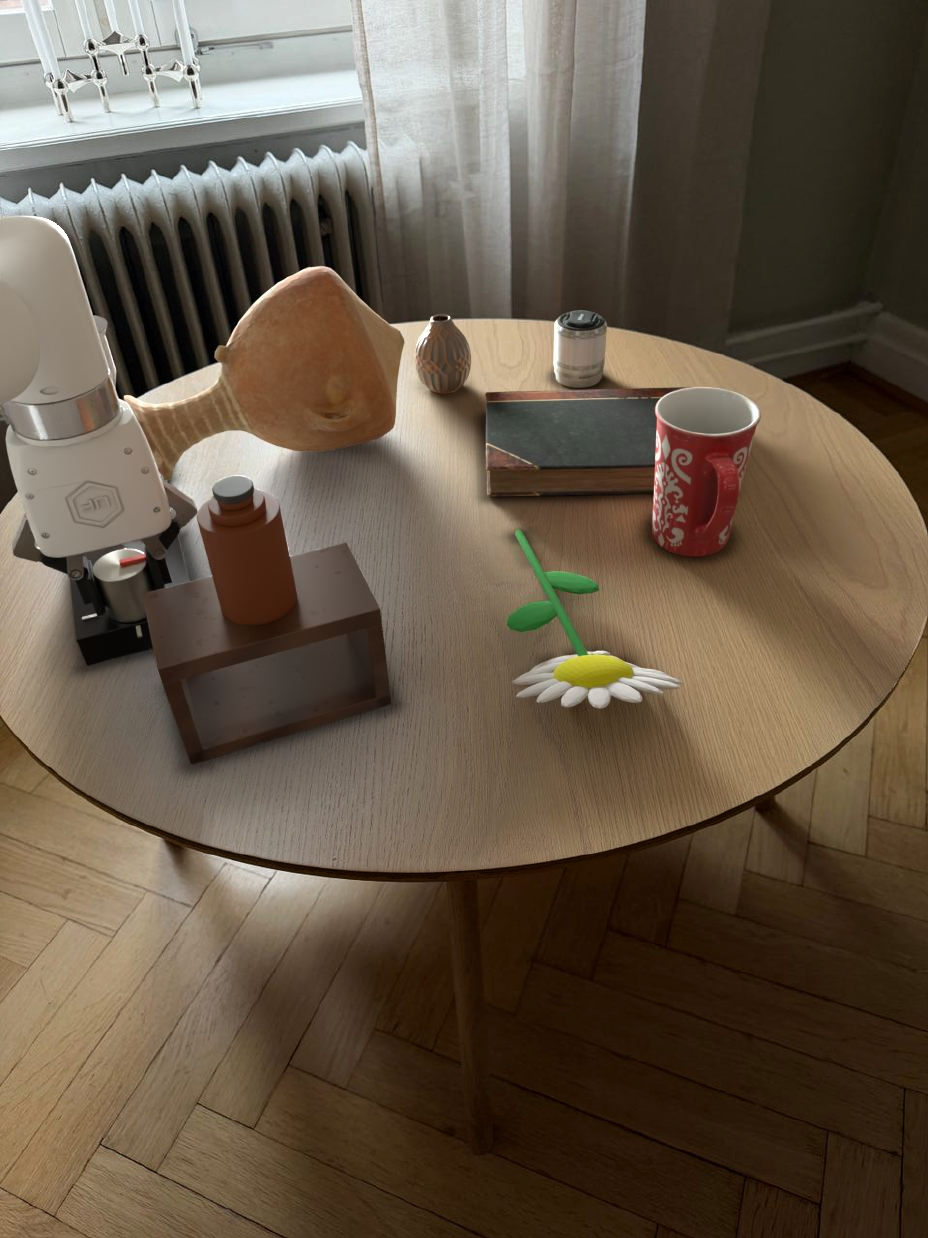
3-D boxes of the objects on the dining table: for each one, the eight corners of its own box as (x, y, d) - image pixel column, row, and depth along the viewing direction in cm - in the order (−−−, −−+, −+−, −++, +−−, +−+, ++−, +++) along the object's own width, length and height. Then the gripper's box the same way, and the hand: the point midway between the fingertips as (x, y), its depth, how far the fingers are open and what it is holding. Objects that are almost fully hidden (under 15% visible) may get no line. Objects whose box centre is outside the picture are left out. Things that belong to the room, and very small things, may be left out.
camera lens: (606, 368, 117) (610, 307, 112) (599, 391, 112) (604, 329, 107) (557, 364, 118) (559, 304, 113) (548, 387, 113) (550, 325, 108)
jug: (445, 376, 90) (145, 477, 85) (430, 452, 109) (183, 539, 103) (369, 206, 93) (76, 292, 88) (367, 308, 112) (124, 384, 106)
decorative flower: (455, 565, 90) (531, 768, 66) (454, 521, 88) (534, 715, 63) (579, 553, 92) (699, 746, 68) (583, 509, 90) (709, 693, 65)
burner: (81, 581, 82) (80, 579, 82) (75, 533, 88) (74, 531, 87) (172, 559, 84) (171, 556, 84) (161, 514, 90) (160, 511, 89)
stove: (88, 680, 77) (76, 652, 75) (74, 561, 89) (64, 534, 87) (208, 647, 79) (200, 619, 77) (178, 536, 92) (171, 510, 90)
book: (486, 498, 95) (729, 493, 94) (485, 468, 93) (735, 463, 92) (485, 416, 108) (699, 411, 108) (485, 388, 106) (703, 382, 105)
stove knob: (110, 628, 77) (93, 583, 74) (105, 597, 80) (89, 553, 77) (163, 614, 78) (149, 569, 75) (157, 584, 81) (142, 540, 78)
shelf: (190, 765, 69) (157, 669, 63) (173, 687, 76) (141, 593, 69) (392, 704, 73) (380, 608, 67) (360, 635, 80) (346, 541, 73)
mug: (633, 510, 93) (646, 387, 84) (723, 506, 93) (745, 383, 84) (658, 590, 83) (676, 460, 74) (758, 585, 83) (787, 455, 74)
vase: (483, 384, 114) (482, 315, 109) (445, 404, 111) (441, 335, 105) (443, 368, 118) (440, 301, 112) (405, 387, 114) (399, 319, 109)
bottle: (228, 634, 65) (197, 517, 59) (214, 588, 69) (184, 474, 63) (305, 613, 67) (283, 497, 60) (287, 570, 71) (264, 456, 64)
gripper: (-65, 453, 62) (29, 653, 74) (189, 401, 66) (238, 597, 78) (-61, 404, 67) (25, 598, 79) (173, 359, 71) (221, 549, 83)
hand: (130, 596), depth 78 cm, fingers closed on stove knob, 4 cm apart
